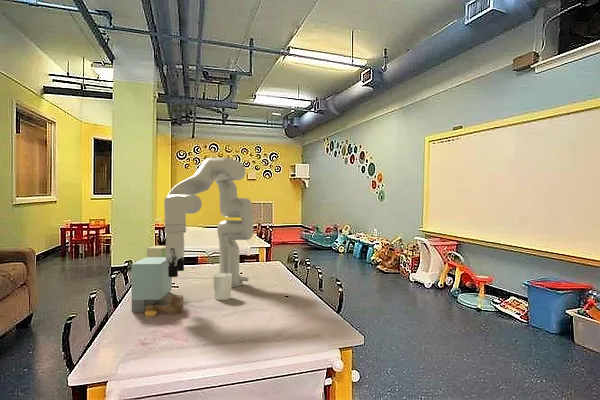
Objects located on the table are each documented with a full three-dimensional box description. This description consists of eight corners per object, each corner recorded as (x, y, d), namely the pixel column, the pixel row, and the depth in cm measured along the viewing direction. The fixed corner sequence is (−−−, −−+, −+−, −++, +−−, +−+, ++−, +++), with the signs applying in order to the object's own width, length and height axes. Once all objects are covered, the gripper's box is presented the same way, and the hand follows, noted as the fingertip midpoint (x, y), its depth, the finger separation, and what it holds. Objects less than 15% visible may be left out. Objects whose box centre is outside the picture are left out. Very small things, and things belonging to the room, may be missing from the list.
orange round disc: (158, 314, 148) (158, 310, 148) (154, 317, 144) (154, 313, 144) (147, 313, 148) (147, 309, 148) (143, 317, 144) (143, 313, 144)
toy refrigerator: (162, 296, 172) (161, 248, 172) (146, 295, 174) (146, 247, 173) (171, 292, 180) (171, 245, 180) (156, 291, 182) (156, 245, 181)
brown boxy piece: (182, 310, 152) (182, 294, 151) (180, 313, 148) (180, 297, 148) (147, 311, 151) (147, 295, 151) (144, 314, 147) (144, 297, 147)
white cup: (235, 297, 172) (235, 273, 171) (224, 301, 164) (224, 277, 164) (220, 295, 175) (220, 272, 175) (209, 299, 168) (209, 275, 168)
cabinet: (171, 300, 166) (171, 257, 166) (160, 311, 150) (160, 263, 150) (145, 300, 166) (145, 257, 166) (131, 311, 150) (131, 264, 150)
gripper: (171, 226, 158) (172, 268, 159) (158, 231, 141) (159, 279, 141) (190, 225, 158) (191, 268, 159) (180, 231, 141) (181, 279, 142)
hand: (176, 273), depth 150 cm, fingers open, 9 cm apart
